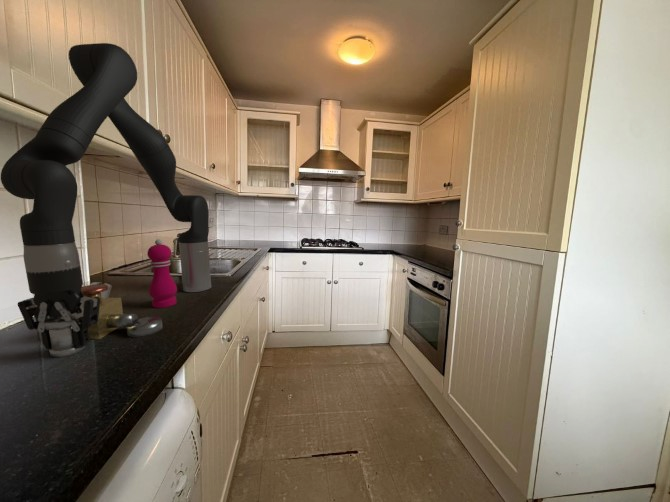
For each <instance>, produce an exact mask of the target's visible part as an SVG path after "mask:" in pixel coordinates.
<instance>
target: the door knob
mask: <svg viewBox="0 0 670 502" xmlns="http://www.w3.org/2000/svg"><path fill="white" fill-rule="evenodd" d="M75 315H76V314H72V316H75ZM77 321H78V322H79V323H80V319H79V318H78V319H77ZM44 323H45V329H47V330H49V334H50V340H51V346H52V347H51V348H50V349H48V351H49V357H51V358H54V359H55V358H64V357H68V356H72V355H75V354H77V353H79V352H81V351H83V350H85V348H86V345H85V346H84V347H82V348H76V346H75V340H74V334H73V332H74V330H73V328H72V326H71V325H70V323H69V322H68V323H67V322H66V321H65V320H64V318H63V317H59V316H58V317H56V318H53V319H51V320H49V321H46V322H44Z"/></svg>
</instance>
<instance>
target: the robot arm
mask: <svg viewBox="0 0 670 502" xmlns="http://www.w3.org/2000/svg"><path fill="white" fill-rule="evenodd" d="M68 60H69V64H70V66H71V69H72V71H73V72H74V74H75V76H76V78H77V79H78V81H79V82H80V83H81V84H82V86H83V87H81V88H80V89H79V90H78V91H76V92H75V93H74V94H72V95H70V97H68V98H66V99H65V100H63V101H62V102H60V104H58V105H57V106H56V107H55V108H54V109H53V110H52V111H51V112H50V114H48V116H47V117H46V119H45V120H44V122H43V123H42V125H41V127H40V128H39V130H38V131H37V133H36V135H35V136H34V137H33V138H32V139H31V140H30V141H28V142H27V143H25V144H23V146H22V147H20V148H19V149H18V150H17V151H16V152H15V153H14V154H13V155H11V157H9V159H8V160H7V161H5V163H4V164H3V166H2V169H1V171H0V182H1V184H2V186H3V188H4V189H5V190H6V191H7V192H8V193H10V195H12V196H14V197H17V198H19V199H24V200H33V204H32V205H33V206H32V210H31V212H28V213H25V214H23V215H21V217H20V218H19V229H20V233H21V234H20V235H21V239H22V244H23V246H22V247H23V262H24V268H25V273H26V279H27V284H28V285H27V286H28V290H29V293H31V294H32V295H33V297H30V298H26V299H23V300H21V301H18V302H17V307H18V310H19V311H20V314H21V316H22V319H23V321H24V323H25V325H26V328H27V329H28V330H30V331H32V330H37V332H39V333H40V335H41V341H42V344H43V345H42V346H43V347H45V349H46V350H49V349H50V348H51V347H52V346H51V340H50V334H49V330H47V329H45V323H44V322H46V321H49V320H51V319H53V318H56V317H58V316H59V317H63V318H64V320H65V321H66V322H67V323H68V322H69V323H70V325H71V326H72V328H73V330H74V332H73V334H74V340H75V346H76V348H82V347H84V346H85V347H86V346H87V345H88V343H90V340H91V339H89V332H88V327H90V326H92V325H94V324H96V323H97V322H98V316H99V306H100V298H99V297H94V298H89V297H85V296H84V294H83V293H82V291H81V287H83V286H84V280H83V275H82V274H83V273H82V267H81V261H80V254H79V249H78V248H77V244H76V239H75V230H74V226H73V218H74V214H75V209H76V204H77V203H76V202H77V200H78V183H77V179H76V177H75V175H74V174H73V172H72V171H71V170H70V168H68V167H67V166H69V165H72V164H75V163H77V162H79V161H81V159H82V158H83V157H84V155H85V153H86V152H87V150H88V148H89V146H90V144H91V143H92V141H93V139H94V136H95V135H96V134H97V132H98V131H99V129H100V128H101V126H102V125H103V123H104V122H105V120H106V119H107V118H109V120H110V121H111V123H112V124H113V125H114V127H115V128H116V129H117V132H119V134H120V135H121V137H122V138H123V140H124V141H125V142H126V144H127V145H128V147H129V148H130V151H132V154H133V155H134V156H135V158H136V159H137V161H138V162H139V164H140V166H141V167H142V169H144V171H145V172H146V174H147V175H148V176H149V178H150V180H151V181H152V183H153V185H154V186H155V188H156V189H157V191H158V193H159V194H160V196H161V198H162V200H163V202H164V204H165V206H166V208H167V210H168V211H169V213H170V215H171V216H172V217H173V219H174V220H175V221H178V222H181V223H190V228H189V229H187V230H186V231H183V232H181V233H179V234H178V236H177V237H178V249H179V258H180V259H179V261H180V271H181V282H182V291H183V292H185V293H197V292H199V293H200V292H203V291H207V290H210V289H211V288H212V278H211V277H212V275H211V268H210V267H211V264H210V263H211V262H210V250H209V233H210V220H209V218H210V217H209V216H210V214H209V212H210V211H209V204H208V202H207V199H206V198H205V197H204V196H202V195H199V194H198V195H195V194H193V195H192V194H189V195H188V194H186V195H185V194H184V195H183V194H182V193H181V191H180V190H179V188H178V186H177V184H176V181H175V180H176V179H175V178H176V170H177V159H176V156H175V154H174V152H173V150H172V149H171V146H170V145H169V143H168V141H167V140H166V138H165V136H164V135H163V134H162V133H161V132H160V131H159V130H158V129H157V128H155V126H153V125H152V124H151V123H150V122H148V121H147V120H146V119H144V118H143V117H142V116H141V115H140V114H139V113H137V112H136V111H135V110H134V109H133V107H132V106H131V105H130V104H129V103H128V102H127V100H126V99H125V98H126V97H127V95H128V94H129V93H130V92H131V91H132V90H133V89H134V87H135V86H136V84H137V81H138V70H137V67H136V64H135V62H134V60H133V57H131V56H130V54H129V53H128V52H127V51H126V50H125V49H124V48H122V47H121V46H119V45H117V44H113V43H108V42H107V43H106V42H102V43H101V42H100V43H97V42H96V43H82V44H75V45H73V46H71V47H70V48H69V50H68ZM81 304H83V306H81ZM83 308H84V309H83ZM74 313H76V315H75V316H72V314H74ZM34 318H35V320H34ZM78 318H79V319H80V324H79V322H78V321H77V319H78Z"/></svg>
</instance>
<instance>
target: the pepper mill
mask: <svg viewBox="0 0 670 502" xmlns="http://www.w3.org/2000/svg"><path fill="white" fill-rule="evenodd" d="M154 243H155V244H153V245H152V246H150V247H149V248H148V249H147V257H148V259H150V260H151V261H150V268H151V267H152V271H153V277H152V280H151V282H150V285H149V288H148V294H149V297H151V298H152V300H151V304H152V308H154V309H155V308H156V309H163V308H168V307H172V306H174V305H176V304H177V296H175V295H176V294H177V292H178V287H177V285H176V284H177V283H176V282H175V281H174V279H173V277H172V275H171V273H170V265H171V260H170V258H171V257H172V249H171V248H170V247H169V246H168V245H165V244H163V241H162V239H160V238H158V239H156V240H155V241H154Z"/></svg>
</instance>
